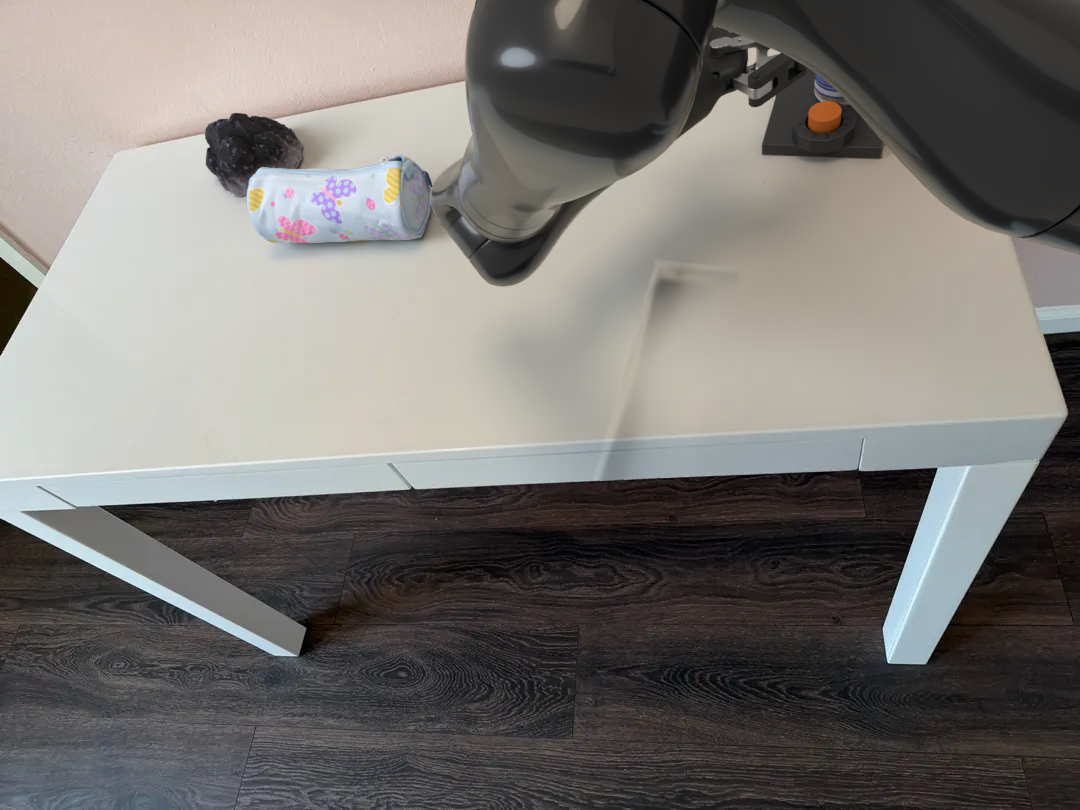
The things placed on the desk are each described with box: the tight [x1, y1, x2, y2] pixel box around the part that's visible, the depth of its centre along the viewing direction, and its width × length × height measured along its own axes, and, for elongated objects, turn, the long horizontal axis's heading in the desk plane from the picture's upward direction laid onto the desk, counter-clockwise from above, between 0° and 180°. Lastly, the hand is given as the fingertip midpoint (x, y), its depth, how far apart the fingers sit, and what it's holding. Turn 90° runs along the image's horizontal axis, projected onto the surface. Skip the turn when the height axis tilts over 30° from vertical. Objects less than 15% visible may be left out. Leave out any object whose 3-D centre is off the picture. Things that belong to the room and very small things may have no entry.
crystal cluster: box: [204, 112, 304, 198], centre depth 102 cm, size 13×14×10 cm
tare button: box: [808, 101, 842, 133], centre depth 80 cm, size 3×3×2 cm
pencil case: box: [246, 154, 433, 244], centre depth 89 cm, size 21×9×10 cm, turn 81°
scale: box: [761, 66, 884, 159], centre depth 83 cm, size 12×15×3 cm
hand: (781, 4), depth 67 cm, fingers open, 8 cm apart
